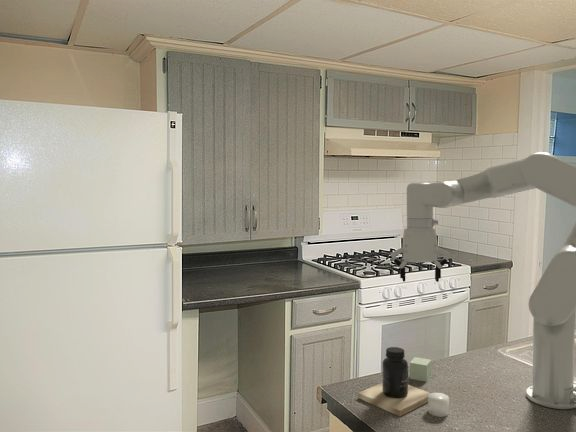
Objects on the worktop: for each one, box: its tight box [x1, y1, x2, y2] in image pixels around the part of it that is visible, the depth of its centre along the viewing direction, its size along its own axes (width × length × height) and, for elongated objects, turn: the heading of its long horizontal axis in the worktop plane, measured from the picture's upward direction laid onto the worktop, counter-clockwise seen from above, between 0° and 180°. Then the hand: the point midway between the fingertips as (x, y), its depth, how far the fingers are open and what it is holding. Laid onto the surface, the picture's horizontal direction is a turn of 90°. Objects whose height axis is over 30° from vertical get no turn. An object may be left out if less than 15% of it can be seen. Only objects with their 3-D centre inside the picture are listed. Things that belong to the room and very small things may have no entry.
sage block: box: [409, 356, 432, 383], centre depth 145 cm, size 5×5×5 cm
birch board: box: [357, 382, 432, 417], centre depth 132 cm, size 14×14×2 cm
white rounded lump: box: [427, 392, 450, 418], centre depth 124 cm, size 5×5×4 cm
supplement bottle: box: [381, 346, 409, 398], centre depth 131 cm, size 7×7×12 cm
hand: (420, 280), depth 147 cm, fingers open, 9 cm apart
